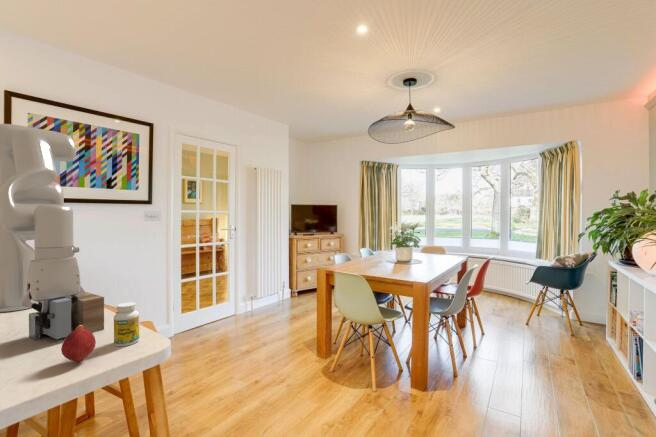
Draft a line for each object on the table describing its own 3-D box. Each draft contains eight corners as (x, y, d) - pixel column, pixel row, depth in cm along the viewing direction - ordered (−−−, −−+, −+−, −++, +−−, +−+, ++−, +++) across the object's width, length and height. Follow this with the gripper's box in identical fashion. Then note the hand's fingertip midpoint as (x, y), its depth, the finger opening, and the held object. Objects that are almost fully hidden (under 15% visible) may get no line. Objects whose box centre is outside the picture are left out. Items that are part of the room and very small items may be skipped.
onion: (68, 371, 65) (68, 332, 65) (56, 363, 69) (56, 326, 68) (100, 360, 70) (100, 324, 70) (88, 353, 73) (88, 319, 73)
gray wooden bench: (29, 336, 82) (28, 313, 82) (69, 326, 90) (68, 305, 90) (35, 339, 81) (35, 316, 80) (75, 329, 88) (75, 307, 88)
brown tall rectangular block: (65, 328, 89) (65, 295, 89) (86, 322, 93) (86, 291, 93) (83, 335, 84) (82, 301, 84) (104, 329, 88) (104, 296, 88)
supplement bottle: (138, 336, 84) (138, 300, 83) (139, 343, 79) (139, 305, 79) (113, 340, 81) (113, 303, 81) (113, 348, 76) (113, 308, 76)
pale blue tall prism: (34, 332, 82) (34, 297, 82) (53, 327, 86) (53, 294, 85) (51, 340, 77) (51, 303, 77) (71, 335, 81) (71, 299, 80)
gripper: (84, 249, 90) (84, 314, 91) (4, 256, 76) (5, 332, 77) (98, 251, 87) (98, 319, 87) (17, 258, 72) (17, 339, 73)
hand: (54, 324), depth 82 cm, fingers closed on pale blue tall prism, 3 cm apart
